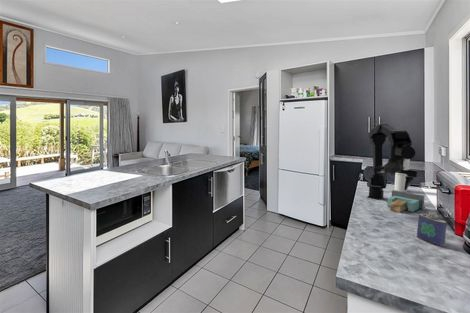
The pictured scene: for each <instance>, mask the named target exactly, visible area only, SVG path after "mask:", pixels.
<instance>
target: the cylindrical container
mask: <svg viewBox="0 0 470 313" xmlns="http://www.w3.org/2000/svg"><path fill="white" fill-rule="evenodd" d="M410 162H411V159H405V161H404V165H403V167H404V169H403V170H409V169H410V166H411V165H410ZM394 176H395V177H394V189H393V190H396V191H402V192H407V193H408V189H409V187H408V188H407V189H406V190H405V181H406V178H405V177H406V176H407V175H406V174H402V173H395V175H394Z"/></svg>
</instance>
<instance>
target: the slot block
mask: <svg viewBox="0 0 470 313" xmlns="http://www.w3.org/2000/svg"><path fill="white" fill-rule="evenodd" d="M396 200H403V201H406V209H407V212H412V213H414V212H415V211H417V210H420V209H419V200H414V199H409V198H404V197H399V196H392V195H391V196H390V197H387V202H386V203H387V205H386V206H387V207H390V206H391V203H392V202H394V201H396Z"/></svg>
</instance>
